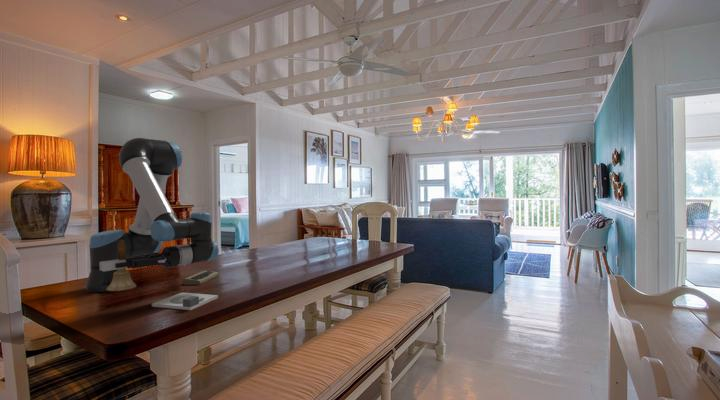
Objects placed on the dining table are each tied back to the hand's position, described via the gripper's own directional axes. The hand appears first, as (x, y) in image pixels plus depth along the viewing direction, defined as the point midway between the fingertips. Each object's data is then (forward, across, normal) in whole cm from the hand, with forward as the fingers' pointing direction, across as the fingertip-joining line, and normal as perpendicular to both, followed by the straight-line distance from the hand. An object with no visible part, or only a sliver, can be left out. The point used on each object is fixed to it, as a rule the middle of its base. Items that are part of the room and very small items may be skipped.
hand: (101, 266), depth 114 cm
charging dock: (-23, -8, -16) cm, 29 cm away
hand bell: (-6, 0, -8) cm, 10 cm away
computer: (-43, +18, -17) cm, 50 cm away
